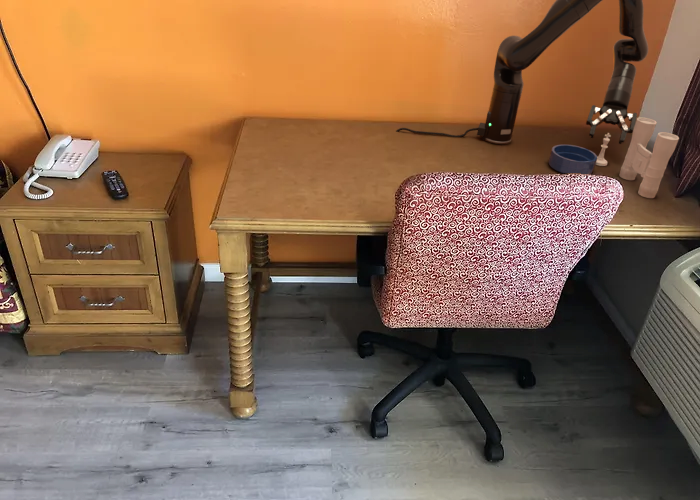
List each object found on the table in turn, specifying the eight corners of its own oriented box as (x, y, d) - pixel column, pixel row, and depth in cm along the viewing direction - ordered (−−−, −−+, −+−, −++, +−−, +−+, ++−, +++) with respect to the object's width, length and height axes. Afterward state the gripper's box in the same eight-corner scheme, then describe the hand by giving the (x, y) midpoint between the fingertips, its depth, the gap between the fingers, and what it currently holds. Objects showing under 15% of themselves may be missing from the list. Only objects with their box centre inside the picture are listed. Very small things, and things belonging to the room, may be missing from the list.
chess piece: (608, 166, 190) (618, 137, 185) (592, 164, 191) (601, 134, 186) (605, 160, 194) (615, 131, 189) (590, 158, 195) (599, 129, 190)
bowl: (547, 172, 183) (551, 156, 181) (548, 156, 194) (552, 141, 192) (593, 180, 180) (598, 165, 178) (591, 164, 191) (596, 149, 189)
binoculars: (614, 172, 187) (633, 116, 177) (631, 173, 187) (650, 117, 178) (642, 198, 172) (664, 139, 163) (660, 199, 173) (683, 140, 163)
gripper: (597, 84, 192) (584, 130, 189) (644, 92, 188) (632, 139, 185) (593, 96, 199) (581, 140, 196) (639, 104, 195) (627, 149, 192)
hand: (606, 139), depth 190 cm, fingers open, 8 cm apart
